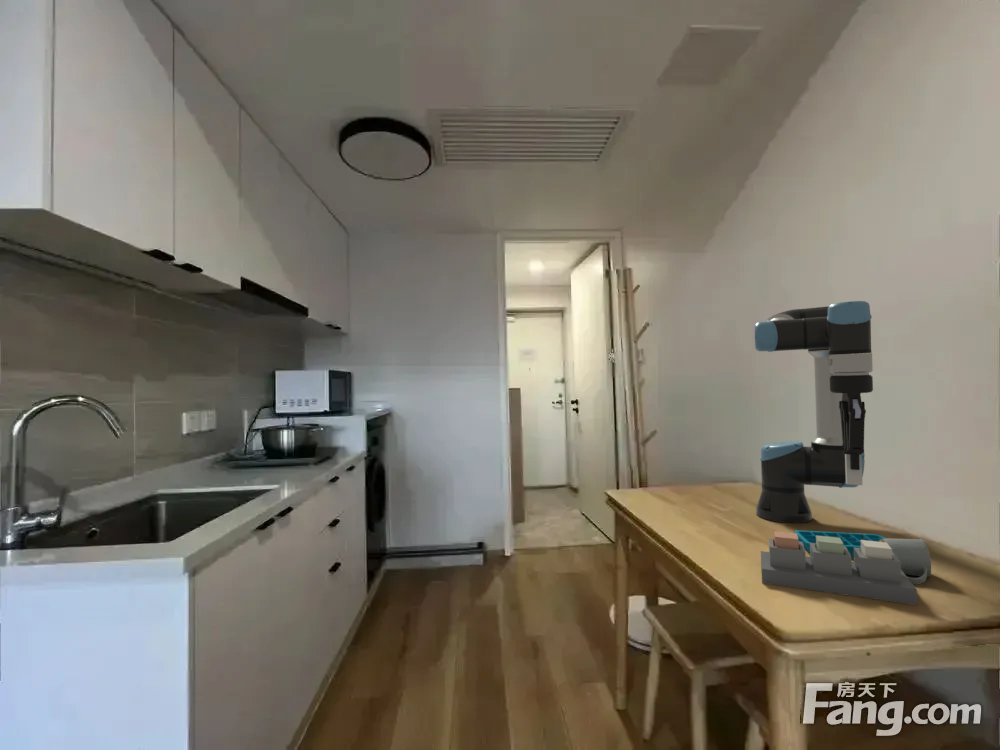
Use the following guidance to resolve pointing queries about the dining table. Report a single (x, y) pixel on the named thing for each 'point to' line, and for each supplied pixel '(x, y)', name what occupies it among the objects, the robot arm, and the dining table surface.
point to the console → (837, 573)
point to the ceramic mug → (912, 557)
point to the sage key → (829, 544)
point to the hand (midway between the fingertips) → (854, 483)
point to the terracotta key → (786, 540)
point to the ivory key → (876, 549)
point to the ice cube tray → (847, 538)
